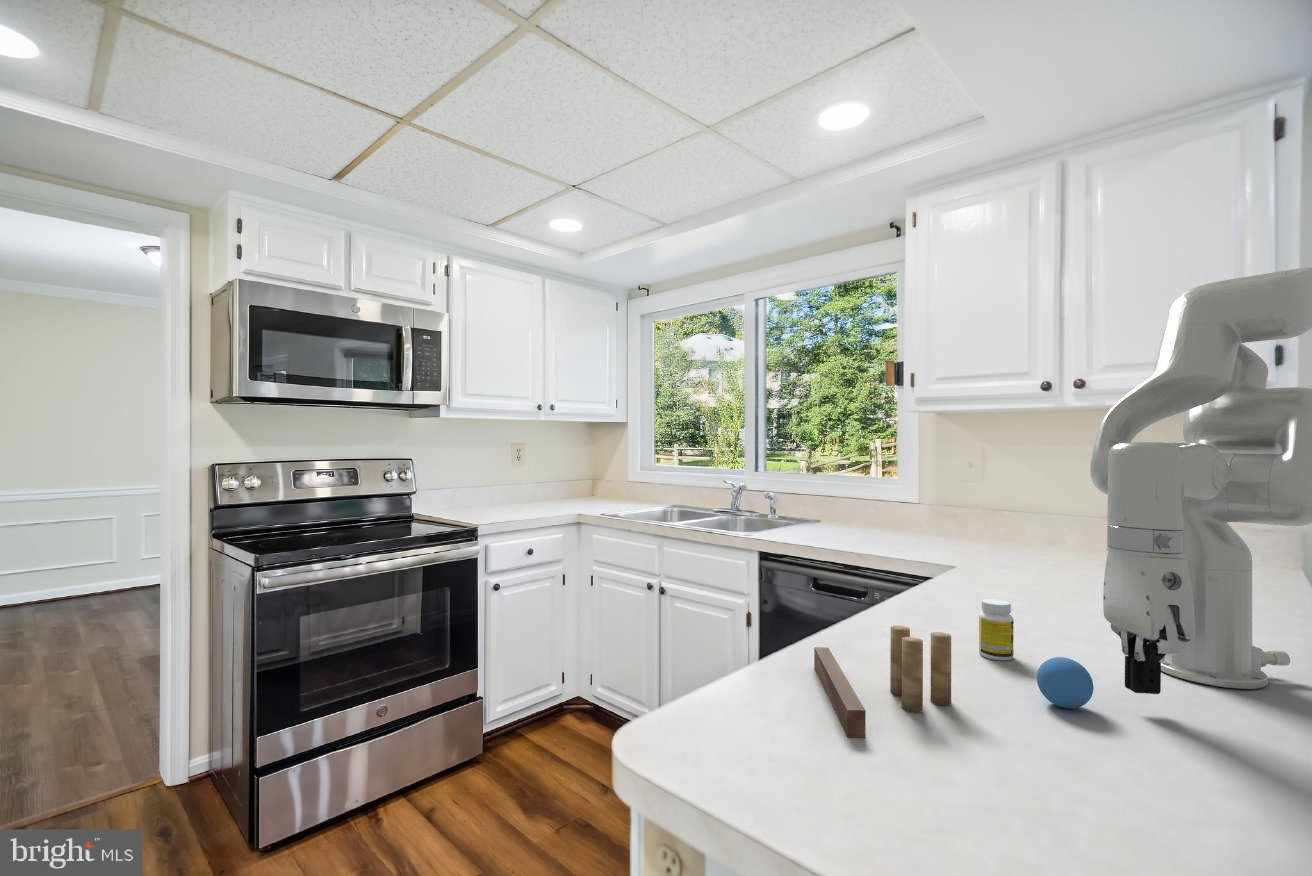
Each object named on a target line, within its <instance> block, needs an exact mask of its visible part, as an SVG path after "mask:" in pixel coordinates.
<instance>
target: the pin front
mask: <svg viewBox="0 0 1312 876" xmlns="http://www.w3.org/2000/svg"><path fill="white" fill-rule="evenodd" d="M930 702H931V703H932V704H934V705H936V706H937V705H938V706H943V707H947V706H951V705H952V635H951V634H949V633H946V632H942V631H933V632H931V633H930Z"/></svg>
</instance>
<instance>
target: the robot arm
mask: <svg viewBox="0 0 1312 876" xmlns="http://www.w3.org/2000/svg"><path fill="white" fill-rule="evenodd" d="M1168 311H1169V312H1168V314H1167V319H1166V321H1165V325H1164V329H1163V334H1162V337H1161V341H1160V345H1159V348H1158V353H1157V357H1156V360H1155V363H1154V368H1153V372H1152V375H1151V376H1150V377H1149V378H1148V379H1146V380H1144V381H1143V382H1141V383H1140V384H1138V385H1137V386H1136V387H1134V388H1133V389H1132V390H1130V391H1129V392H1128V393H1127V394H1125V395H1124V396H1123V397H1122V398H1121V399H1119V401H1117V403H1115V405H1113V406H1112V407H1111V408H1110V409H1109V411H1108V412H1107V413H1106V414H1105V416H1104V417H1103V419H1102V421H1101V423H1100V426H1099V429H1098V431H1097V435H1096V439H1095V442H1094V445H1093V450H1092V454H1091V459H1090V478H1091V481H1092V484H1093V485H1094V487H1095V488H1096V489H1097V490H1098V491H1099V492H1101V493H1103V494H1105V495H1107V515H1106V516H1107V519H1106V521H1107V522H1106V523H1107V525H1106V526H1107V528H1106V529H1107V530H1106V532H1107V533H1106V534H1107V536H1106V540H1107V541H1106V550H1107V555H1106V561H1105V569H1104V578H1103V588H1102V589H1103V591H1102V595H1103V596H1102V606H1103V607H1102V608H1103V611H1102V612H1103V615H1104V616H1103V617H1104V618H1105V619H1106V621H1107V622H1108V623H1110V628H1111V631H1112V632H1114V633H1115V634H1116V635H1117V636H1119V638H1120V641H1121V651H1122V653H1123V655H1124V687H1125V688H1126V689H1128V690H1130V691H1131V692H1133V693H1134V694H1148V695H1149V694H1150V695H1159V694H1160V693H1161V692H1162V691H1161V690H1162V689H1161V687H1162V685H1161V684H1162V676H1161V675H1162V672H1163V673H1166V674H1167V675H1170V676H1174V677H1176V678H1180V679H1182V680H1186V681H1189V682H1190V681H1191V682H1195V683H1198V684H1202V685H1203V684H1204V685H1209V686H1213V687H1221V688H1227V689H1236V690H1237V689H1239V690H1241V689H1242V690H1255V689H1256V690H1257V689H1262V688H1265V687H1266V686H1268V684H1269V677H1268V675H1267V674H1266V673H1265V672H1264V671H1263V670H1262V668H1264V667H1266V666H1267V665H1271V666H1279V667H1281V666H1289V665H1290V664H1291V658H1290V655H1289V654H1288V653H1287V652H1285V651H1280V650H1279V651H1278V650H1277V651H1276V650H1267V651H1264V650H1263V649H1262V648H1261V647H1258V646H1255V645H1253V556H1252V553H1251V551H1250V548H1249V547H1248V545H1247V543H1246V542H1245V540H1243V539H1242V537H1241V536H1240V535H1239V534H1238V533H1237V532H1236V531H1235V529H1233V528H1232V526H1231V525H1230V524H1229V523H1243V524H1244V523H1245V524H1256V525H1258V524H1259V525H1269V526H1270V525H1271V526H1286V527H1288V526H1289V527H1302V526H1307V525H1310V524H1312V388H1311V387H1298V386H1295V387H1289V386H1288V387H1272V388H1271V387H1270V388H1267V384H1268V383H1267V382H1268V377H1269V367H1268V365H1267V363H1266V362H1265V360H1264V359H1263V358H1262V357H1260V356H1259V355H1258V354H1257V352H1255V351H1254V350H1252V349H1251V348H1249V347H1248V346H1246V345H1245V343H1254V342H1255V343H1256V342H1264V341H1265V342H1266V341H1275V340H1284V339H1285V340H1286V339H1292V338H1296V337H1299V336H1301V335H1304V334H1306V333H1307V332H1308V331H1310V330H1312V266H1311V267H1310V266H1307V267H1299V268H1293V269H1286V270H1280V271H1274V272H1268V273H1262V274H1256V275H1250V276H1243V277H1242V276H1241V277H1236V278H1232V279H1231V278H1230V279H1224V280H1219V281H1214V282H1210V283H1204V284H1202V285H1198V286H1195V287H1193V288H1190V289H1189V290H1187V291H1185V292H1184V293H1183V294H1182V295H1181V296H1179V297H1178V298H1177V299H1175V301H1174V302H1173V303H1172V305H1171V307H1170V308H1169V310H1168ZM1183 412H1185V413H1184V418H1183V423H1182V436H1183V440H1184V442H1158V441H1157V442H1150V441H1149V442H1146V441H1145V442H1143V441H1138V442H1135V441H1133V440H1134V438H1135V437H1137V435H1138V434H1140V433H1141V432H1142V431H1143V430H1145V429H1146V428H1148V427H1150V426H1151V425H1153V424H1155V423H1157V422H1160V421H1162V420H1164V419H1167V418H1169V417H1173V416H1175V415H1178V414H1181V413H1183Z"/></svg>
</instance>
